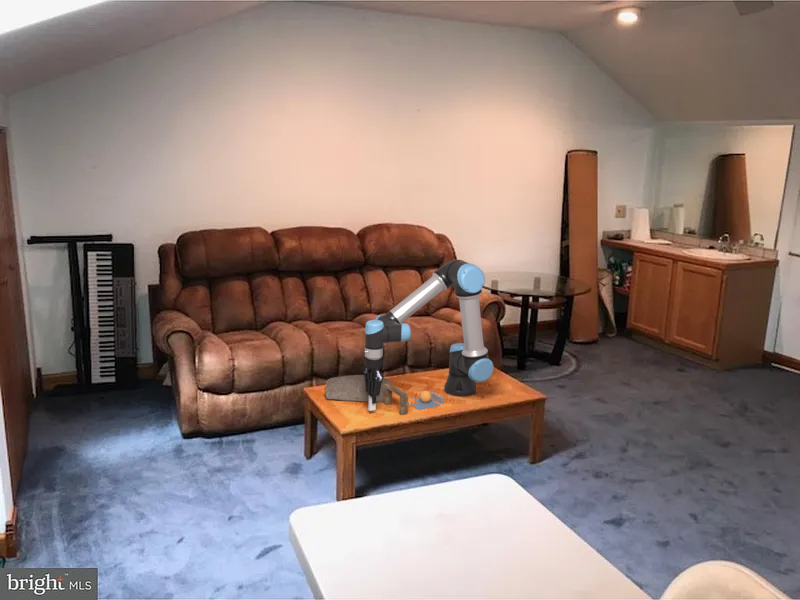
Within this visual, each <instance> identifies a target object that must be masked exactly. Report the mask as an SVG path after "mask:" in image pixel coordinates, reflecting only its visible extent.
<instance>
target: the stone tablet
mask: <svg viewBox="0 0 800 600" xmlns="http://www.w3.org/2000/svg"><path fill="white" fill-rule="evenodd" d="M389 383H391V384H392V381H391V380H389V379H387V378H383V380H382V384H381V389H380V395H379V396H376V403H384V384H389ZM325 398H326V400H336V401H344V402H346V401H348V402H349V401H351V402H352V401H353V402H355V401H356V402H368V403H369V395H368V392H366V389H365V378H364V374H353V375H352V374H351V375H341V376H335V377H330V378H328V379H327V380H326V387H325Z"/></svg>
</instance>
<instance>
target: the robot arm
mask: <svg viewBox="0 0 800 600" xmlns="http://www.w3.org/2000/svg"><path fill="white" fill-rule="evenodd" d="M431 275H432V276H431V277H430V278H428V280H426V281H425V282H424V283H422V284H421V285H420V286H419V287H418V288H416V289H415V290H414V291H413V292H411V293H409V295H407V296H406V297H405V298H404V299H403V300H401V301H400V302H399V303H398V304H397V305H395V306H394V307H393V308H392V309H391V310H390V309H389V311H388V312H387V313H386V314H378V315H377V316H376V317H375V319H370V320H368V321H366V323H365V328H364V361H363V362H364V367H366V368H363V369H362V371H363V375H364V378H365V389H366V392H368V395H369V402H368V408H367V409H368V411H370V412H371V411H376V408H377V407H376V405H377V402H376V396H379V395H380V389H381V384H382V380H383V379H384V376H383V375H382V376H381V370H380V369H381V367H383V354H384V353H383V352H384V351H383V349H384V344H387V343H402V342H407V341H410V339H411V336H412V330H411V326H410V325H409V324H408V323H404V322H405V321H406V320H408V319H409V318H410V317H411V316H413V314H415V313H416V312H417V311H418V310H420V309H421V308H422V307H423V306H425V305H426V304H427V303H428V302H430V301H431V300H433V299H434V297H436V296H437V295H438V294H439V293H441V292H443V291H447V290H448V289H449V288H452V287H453V288H454V296H455V297H456V298H458V301H459V310H460V318H461V326H462V336H463V342H459V343H456V342H455V343H453V344H451V346H450V348H449V360H448V361H449V365H448V376H447V378H446V381H445V384H444V385H443V386H444V388H443V391H444V393H446V394H448V395H451V396H453V397H454V396H455V397H471V396H475V394H476V393H477V385H476V383H483V382H486V381H487V380H489V379H490V377H491V376H492V375H493V374H494V370H495V369H494V368H495V367H494V363H493V361H492V360H491V359H490V358H489V351H488V350H489V349H488V348H486V347H485V345H484V337H483V335H484V333H483V325H482V318H481V317H482V315H481V308H480V307H481V306H480V295H481V294H482V289H483V286H484V285H485V282H486V277H485V276H486V275H485V274H484V271H483V270H482V269H481V268H480V267H479V266H477V264H474V263H470V262H467V261H465V260H462V259H453V260H450V261H448V262H446V263H445V264H443V265H442V266H440V267H439V268H437V269H436V270H435V271H434V272H433V273H432V274H431Z"/></svg>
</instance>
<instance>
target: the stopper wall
mask: <svg viewBox="0 0 800 600" xmlns="http://www.w3.org/2000/svg"><path fill="white" fill-rule="evenodd" d="M428 391H429V392H430V393H431V395H432V398H431V400H433V401H435V402H436V403H438V404H440V405H442V404H445V403H444V402H445V398H444V397H442V396H441V395H439V394H437V393H436V392H433V391H430V390H428Z"/></svg>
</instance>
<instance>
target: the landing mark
mask: <svg viewBox="0 0 800 600" xmlns="http://www.w3.org/2000/svg"><path fill="white" fill-rule="evenodd" d="M415 398H417V399H418V401H417V400H416V399H415ZM419 398H420V396H419V397H414V399H415V403H414V405H413V403H412V402H411V405H413V407H412V408H414V409H416V410H417V409H418V410H417V411H420V409H421V410H425V409H430V408H434V407H438V406H441V403H439V402H437V401H436V400H434V399H431V400H430V401H429V402H428V403H424V402H422V401H421V400H420V399H419ZM416 402H417V403H416ZM408 405H409V402H408ZM411 405H410V406H411ZM414 406H415V407H414Z"/></svg>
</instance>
